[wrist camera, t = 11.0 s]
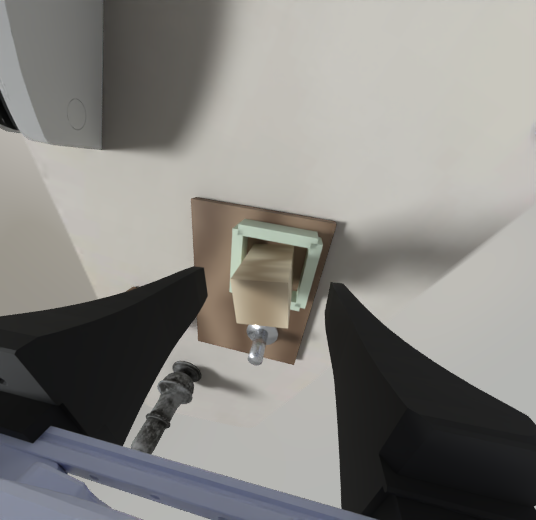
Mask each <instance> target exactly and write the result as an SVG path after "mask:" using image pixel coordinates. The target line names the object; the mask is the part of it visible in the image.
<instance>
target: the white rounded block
mask: <svg viewBox="0 0 536 520" xmlns="http://www.w3.org/2000/svg"><path fill="white" fill-rule="evenodd" d="M102 79H103V0H0V128H1V129H3V130H5V131H8V132H16V133H22V134H23V135H24V136H25V137H26V138H27V139H29V140H32V141H36V142H41V143H46V144H51V145H58V146H68V147H78V148H88V149H97V150H102Z"/></svg>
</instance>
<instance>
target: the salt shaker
mask: <svg viewBox="0 0 536 520" xmlns="http://www.w3.org/2000/svg"><path fill="white" fill-rule="evenodd" d="M173 371H174V373H171V374H169V375H168V376H166V377H165V378H164V379H163V380H162V381H160V382H159V383H158V386H157V387H158V390H159V392H160V393H161V395H160V398H159V400H158V402H157V403H156V405H155V407H154V408H153V410H152V411H151V413H149V414H147V415H146V419H147V420H146V422H145V423H144V425H143V426H142V428H141V430H140V431H139V433H138V434H137V436H136V438H135V439H134V441H133V443H132V445H131V449H133V450H137V451H140V452H144V453H147V454H152V452H153V451H154V449H155V447H156V445H157V443H158V442H159V440H160V438H161V436H162V434H163V432H164V430H165V429H166V428H169V427H170V420H171V419H172V417H173V415H174V413H175V411H176V410H177V408H178V407H179V406H180V404H187V403H189V402H191V400H192V394H193V390H194V384H193V382H196V381H198V380H200V378H201V373H200V371H199V369H198V368H197V367H196V366H194V365H193V364H191V363H188V362H185V361H177V362H175V363H174V364H173Z"/></svg>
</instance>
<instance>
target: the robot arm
mask: <svg viewBox="0 0 536 520" xmlns="http://www.w3.org/2000/svg"><path fill="white" fill-rule="evenodd" d="M207 297H208V293H207V285H206V278H205V271H204V267H196V266H194V267H190V268H188V269H185V270H182V271H180V272H177V273H175V274H172V275H170V276H167V277H165V278H162V279H160V280H157V281H155V282H152V283H149V284H147V285H144V286H141V287H139V288H136V289H133V290H130V291H127V292H123V293H120V294H117V295H113V296H110V297H106V298H102V299H98V300H94V301H89V302H85V303H81V304H76V305H71V306H66V307H61V308H55V309H50V310H43V311H36V312H29V313H23V314H15V315H8V316H1V317H0V520H142V519H139V518H137V517H134V516H132V515H129V514H126V513H123V512H120V511H117V510H114V509H112V508H111V507H109V506H108V505H107V504H105V503H104V502H102V501H101V500H99V499H98V498H97V497H96V496H95V495H94V494H93V493H92V492H90V491H89V489H88V488H87V486H86V485H85V483H83V482H81V481H79V480H77V479H75V478H73V477H71V476H69V475H67V473H70V474H73V475H76V476H79V477H82V478H85V479H89V480H91V481H95V482H98V483H101V484H104V485H107V486H110V487H113V488H116V489H119V490H122V491H125V492H129V493H131V494H135V495H138V496H141V497H144V498H147V499H150V500H153V501H156V502H159V503H162V504H165V505H168V506H172V507H174V508H177V509H180V510H183V511H186V512H190V513H193V514H196V515H199V516H202V517H205V518H208V519H211V520H536V509H535V508H534V506H536V425H535V423H534V422H533V421H532V420H531V419H530V418H529V417H528V416H527V415H525V414H523V413H522V412H519V411H518V410H516V409H514V408H513V407H511V406H509V405H507V404H505V403H503V402H502V401H500V400H498V399H496V398H494V397H492V396H491V395H489V394H487V393H485V392H483V391H482V390H479V389H478V388H476V387H474V386H473V385H471V384H469V383H468V382H466V381H464V380H463V379H461V378H459V377H457V376H456V375H454V374H453V373H451V372H449V371H448V370H446V369H445V368H443V367H441V366H440V365H438V364H437V363H435V362H433V361H432V360H431V359H429V358H428V357H426V356H425V355H423V354H422V353H420V352H419V351H418V350H416V349H414V348H413V347H412V346H410V345H409V344H408V343H406V342H405V341H404V340H402V339H401V338H400V337H399V336H397V335H396V334H395V333H393V332H392V331H391V330H389V329H388V328H387V327H386V326H385V325H384V324H383V323H382V322H380V321H379V320H378V319H377V318H376V317H375V316H374V315H373V314H372V313H371V312H370V311H369V310H368V309H367V308H366V307H365V306H364V305H363V304H362V303H361V302H360V301H359V300H358V299H357V298H356V297H355V296H354V295H353V294H352V293H351V292H350V291H349V289H348V288H347V287H346V286H345V285H344V284H341V283H333V282H331V284H330V289H329V294H328V299H327V304H326V309H325V328H326V335H327V341H328V346H329V352H330V357H331V363H332V368H333V375H334V383H335V395H336V407H337V423H338V439H339V458H340V480H341V507H342V509H339V508H336V507H332V506H329V505H325V504H322V503H319V502H315V501H311V500H308V499H305V498H301V497H298V496H294V495H290V494H287V493H283V492H279V491H277V490H273V489H269V488H266V487H262V486H259V485H256V484H252V483H248V482H245V481H242V480H238V479H235V478H231V477H228V476H224V475H221V474H217V473H214V472H210V471H206V470H203V469H200V468H196V467H193V466H189V465H186V464H182V463H179V462H175V461H172V460H168V459H165V458H161V457H158V456H154V455H151V454H147V453H144V452H140V451H137V450H133V449H130V448H127V447H123V444H124V442H125V440H126V437H127V436H128V433H129V431H130V429H131V427H132V425H133V423H134V421H135V418H136V416H137V414H138V412H139V410H140V408H141V406H142V404H143V402H144V400H145V398H146V396H147V394H148V392H149V391H150V389H151V387H152V385H153V383H154V381H155V379H156V377H157V376H158V374H159V372H160V370H161V368H162V367H163V365H164V363H165V361H166V360H167V358H168V356H169V355H170V353H171V351H172V350H173V348H174V347H175V345H176V344H177V342H178V341H179V339H180V338H181V337H182V335H183V334H184V333H185V331H186V330H187V328H188V327H189V326H190V324H191V323H192V322H193V320H194V319H195V317H196V316H197V315H198V313H199V312H200V310H201V308H202V307H203V305H204V303H205V301H206V299H207Z"/></svg>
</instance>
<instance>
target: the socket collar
mask: <svg viewBox="0 0 536 520" xmlns="http://www.w3.org/2000/svg"><path fill="white" fill-rule="evenodd" d="M248 237H252V238H257V239H262V240H268V241H273V242H278V243H283V244H289V245H294V246H299V247H304V248H307V252H306V257H305V261H304V265H303V269H302V273H301V277H300V281H299V285H298V289H297V291H293V290H292V297H291V306H290V310H295V311H299V309H300V308H304V309H305V307H306V303H307V300H308V296H309V293H310V289H311V286H312V282H313V279H314V275H315V272H316V268H317V265H318V261H319V258H320V254H321V251H322V247H323V243H322V239H321V238H320V237H318V233H317V232H316V231H310V230H305V229H299V228H294V227H288V226H283V225H277V224H272V223H266V222H261V221H255V220H250V219H244V220H242V221H241V222H240V223H238V224H237V225H236V226H235V227H234V228H232V248H231V269H230V279H231V277H232V276H233V274H234V273H235V271H236V270H237V268H238V267H239V266H240V264H241V263H242V261H243V260H244V258H245V257H246V255H247V244H248ZM229 292H231V293H232V288H231V281H230V289H229Z"/></svg>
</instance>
